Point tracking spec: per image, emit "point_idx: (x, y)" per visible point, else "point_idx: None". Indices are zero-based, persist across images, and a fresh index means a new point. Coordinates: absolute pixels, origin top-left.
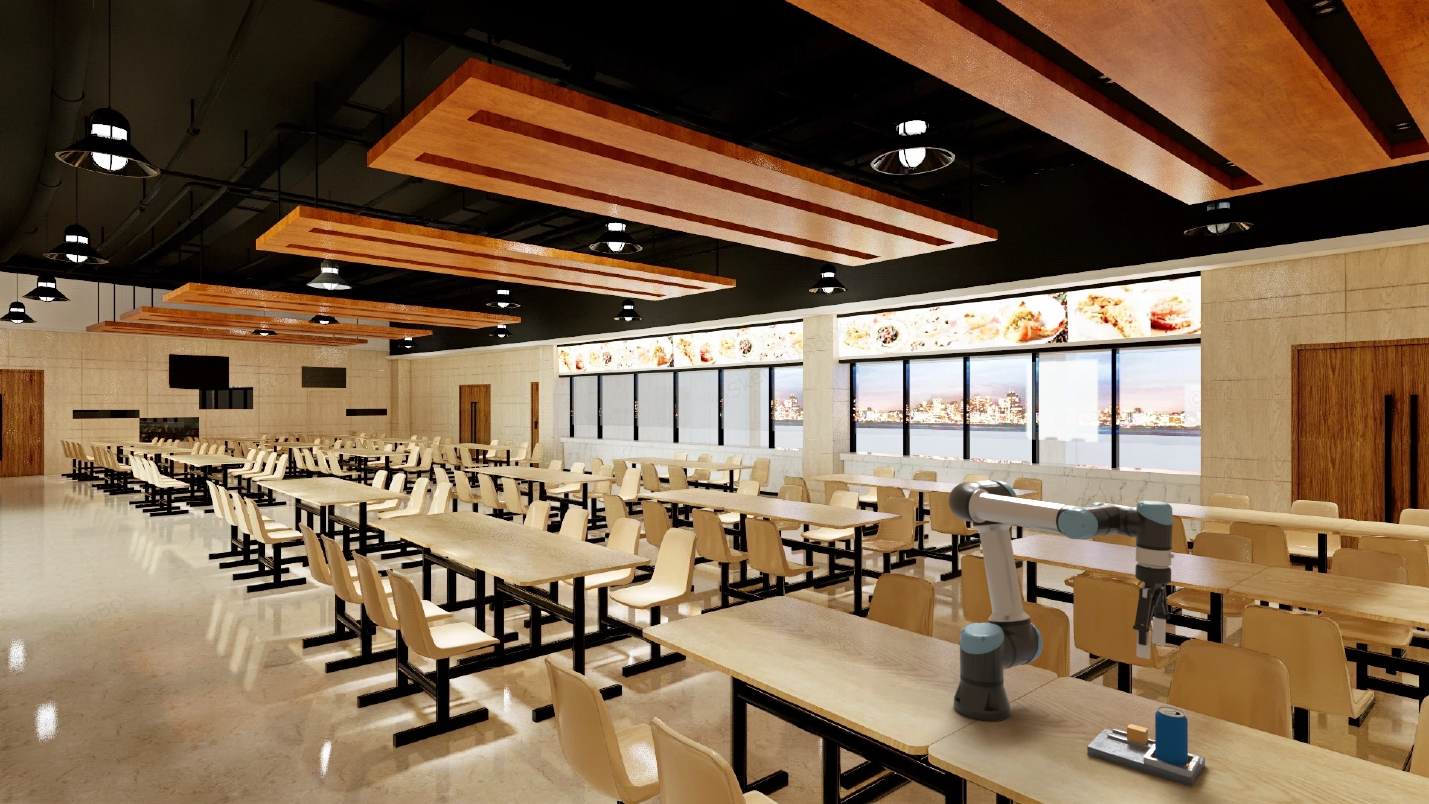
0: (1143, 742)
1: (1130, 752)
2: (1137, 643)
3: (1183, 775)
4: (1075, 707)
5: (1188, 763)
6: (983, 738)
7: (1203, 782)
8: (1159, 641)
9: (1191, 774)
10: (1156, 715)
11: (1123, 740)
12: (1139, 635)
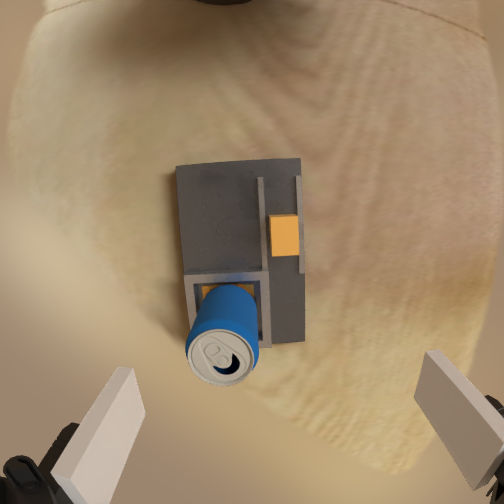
0: (270, 248)
1: (215, 238)
2: (90, 414)
3: None
4: (393, 77)
5: None
6: (111, 27)
7: None
8: (425, 389)
9: None
10: (197, 326)
11: (259, 210)
12: (46, 460)
